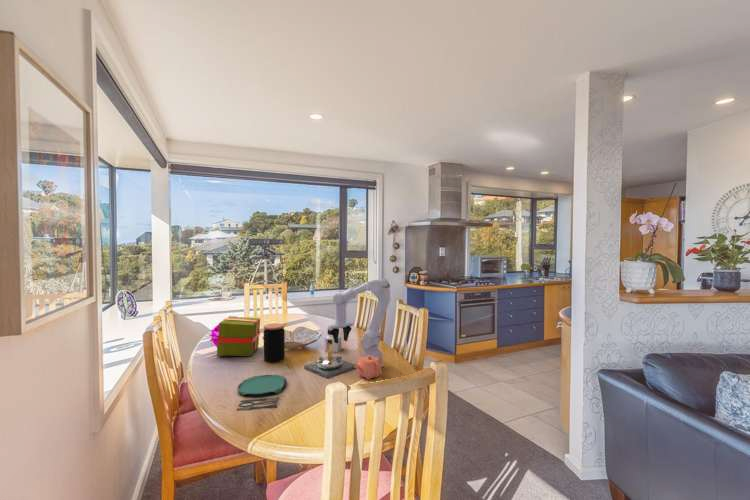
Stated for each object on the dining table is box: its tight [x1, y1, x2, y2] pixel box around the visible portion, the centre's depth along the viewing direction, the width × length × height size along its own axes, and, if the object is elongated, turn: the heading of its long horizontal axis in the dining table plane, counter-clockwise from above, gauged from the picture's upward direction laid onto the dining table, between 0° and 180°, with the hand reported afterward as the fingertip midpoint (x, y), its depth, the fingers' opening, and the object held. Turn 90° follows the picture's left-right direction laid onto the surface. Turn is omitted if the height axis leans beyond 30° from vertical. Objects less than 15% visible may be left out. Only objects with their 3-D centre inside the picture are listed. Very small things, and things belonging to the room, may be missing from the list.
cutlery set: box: [236, 374, 288, 412], centre depth 142 cm, size 20×30×2 cm, turn 10°
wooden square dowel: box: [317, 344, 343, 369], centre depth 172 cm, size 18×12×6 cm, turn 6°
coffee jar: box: [263, 322, 286, 363], centre depth 183 cm, size 11×11×18 cm
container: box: [324, 328, 343, 353], centre depth 199 cm, size 8×8×13 cm
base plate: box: [303, 359, 356, 379], centre depth 169 cm, size 18×18×2 cm
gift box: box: [209, 315, 261, 357], centre depth 195 cm, size 21×21×25 cm
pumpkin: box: [354, 355, 383, 381], centre depth 158 cm, size 12×12×10 cm
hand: (340, 341), depth 182 cm, fingers open, 5 cm apart
